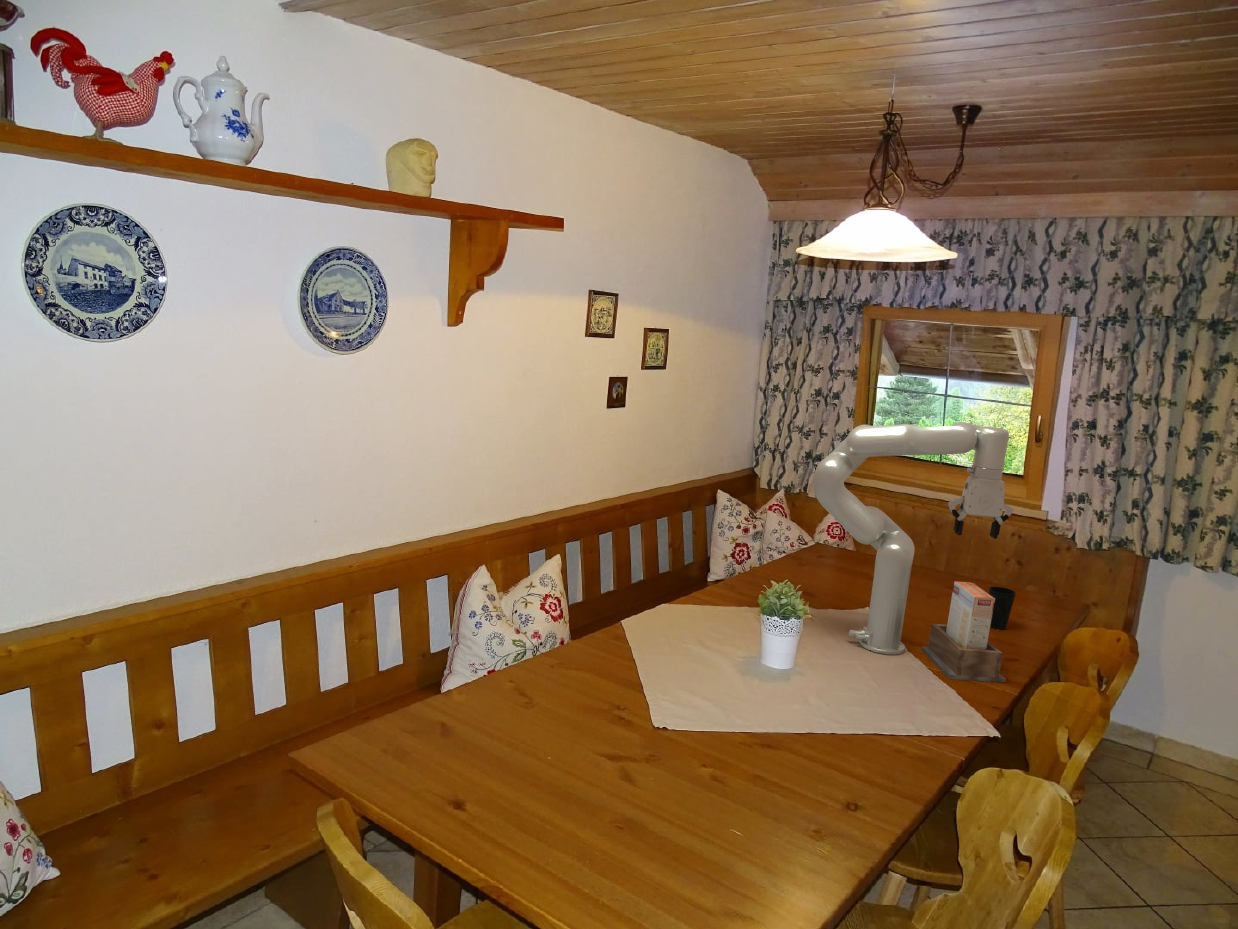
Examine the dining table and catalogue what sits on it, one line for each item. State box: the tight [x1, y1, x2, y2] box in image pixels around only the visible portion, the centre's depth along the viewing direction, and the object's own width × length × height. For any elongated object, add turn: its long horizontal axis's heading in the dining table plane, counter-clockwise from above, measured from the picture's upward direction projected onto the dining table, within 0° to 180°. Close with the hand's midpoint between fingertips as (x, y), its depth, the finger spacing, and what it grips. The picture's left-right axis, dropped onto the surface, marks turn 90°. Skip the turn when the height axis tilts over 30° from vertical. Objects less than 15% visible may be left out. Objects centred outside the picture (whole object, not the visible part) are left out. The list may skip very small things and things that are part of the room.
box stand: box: [920, 623, 1006, 683], centre depth 241 cm, size 15×20×8 cm
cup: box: [988, 586, 1017, 631], centre depth 276 cm, size 8×8×12 cm
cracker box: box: [946, 580, 995, 650], centre depth 240 cm, size 14×6×21 cm, turn 0°
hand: (975, 535), depth 238 cm, fingers open, 9 cm apart
